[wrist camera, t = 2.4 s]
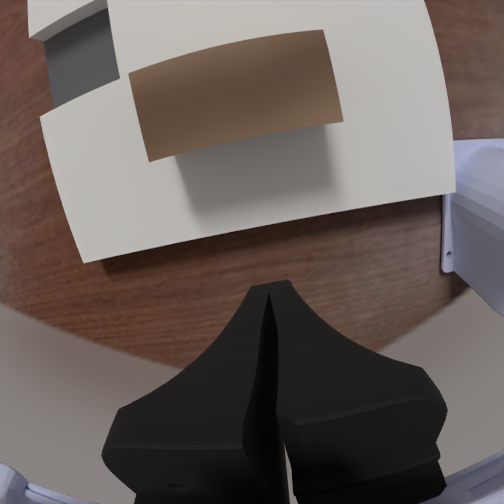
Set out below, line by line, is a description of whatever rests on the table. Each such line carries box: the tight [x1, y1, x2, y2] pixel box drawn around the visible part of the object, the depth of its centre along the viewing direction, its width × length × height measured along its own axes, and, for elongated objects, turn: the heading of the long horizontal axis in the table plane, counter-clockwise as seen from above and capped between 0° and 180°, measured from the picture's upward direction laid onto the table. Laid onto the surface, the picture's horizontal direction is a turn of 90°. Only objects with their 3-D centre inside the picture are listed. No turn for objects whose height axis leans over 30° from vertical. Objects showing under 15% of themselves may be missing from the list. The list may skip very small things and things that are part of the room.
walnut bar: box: [128, 29, 344, 162], centre depth 13 cm, size 4×8×4 cm, turn 102°
